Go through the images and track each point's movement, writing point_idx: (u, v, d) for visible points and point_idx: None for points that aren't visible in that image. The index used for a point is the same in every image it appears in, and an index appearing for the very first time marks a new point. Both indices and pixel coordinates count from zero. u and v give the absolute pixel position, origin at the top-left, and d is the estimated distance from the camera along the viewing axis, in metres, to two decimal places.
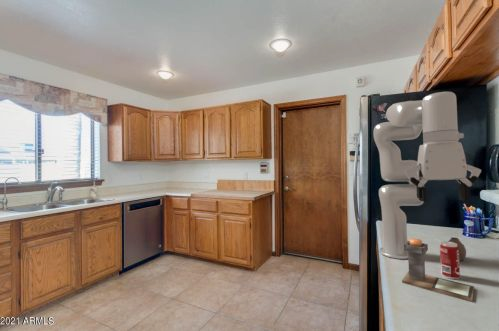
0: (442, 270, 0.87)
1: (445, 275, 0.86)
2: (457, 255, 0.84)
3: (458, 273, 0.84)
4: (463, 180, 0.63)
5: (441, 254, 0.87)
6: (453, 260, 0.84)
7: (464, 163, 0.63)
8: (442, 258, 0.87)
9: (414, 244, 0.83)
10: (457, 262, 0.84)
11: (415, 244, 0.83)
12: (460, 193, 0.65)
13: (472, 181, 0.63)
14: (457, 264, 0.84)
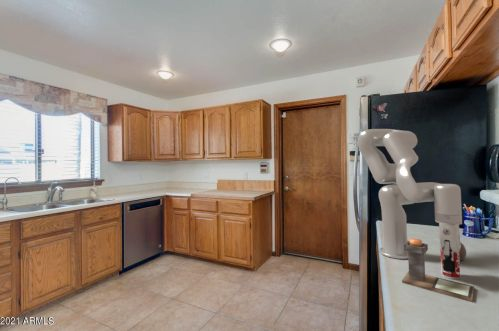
0: (442, 270, 0.87)
1: (445, 275, 0.86)
2: (457, 255, 0.84)
3: (458, 273, 0.84)
4: None
5: (441, 254, 0.87)
6: None
7: None
8: (442, 258, 0.87)
9: (414, 244, 0.83)
10: (458, 262, 0.84)
11: (415, 244, 0.83)
12: None
13: (445, 257, 0.84)
14: (457, 264, 0.84)
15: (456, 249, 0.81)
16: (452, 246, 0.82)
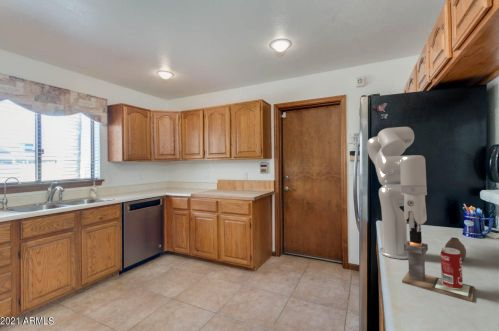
0: (443, 280, 0.78)
1: (447, 285, 0.77)
2: (460, 263, 0.76)
3: (461, 283, 0.76)
4: None
5: (442, 262, 0.79)
6: (455, 269, 0.76)
7: (404, 211, 0.83)
8: (443, 266, 0.78)
9: None
10: (460, 271, 0.76)
11: None
12: None
13: (411, 228, 0.84)
14: (460, 273, 0.76)
15: (419, 220, 0.79)
16: (416, 217, 0.80)
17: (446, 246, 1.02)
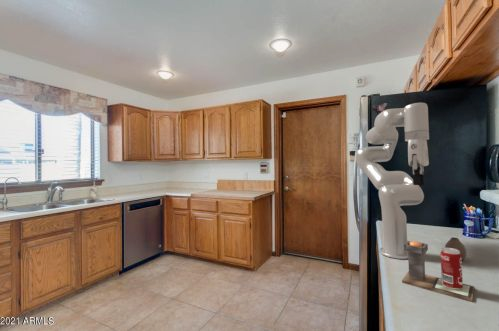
0: (443, 280, 0.78)
1: (447, 285, 0.77)
2: (460, 263, 0.76)
3: (461, 283, 0.76)
4: None
5: (442, 262, 0.79)
6: (455, 269, 0.76)
7: (408, 155, 0.89)
8: (443, 266, 0.78)
9: None
10: (460, 271, 0.76)
11: None
12: None
13: (414, 171, 0.90)
14: (460, 273, 0.76)
15: (422, 161, 0.86)
16: (419, 159, 0.86)
17: (446, 246, 1.02)
